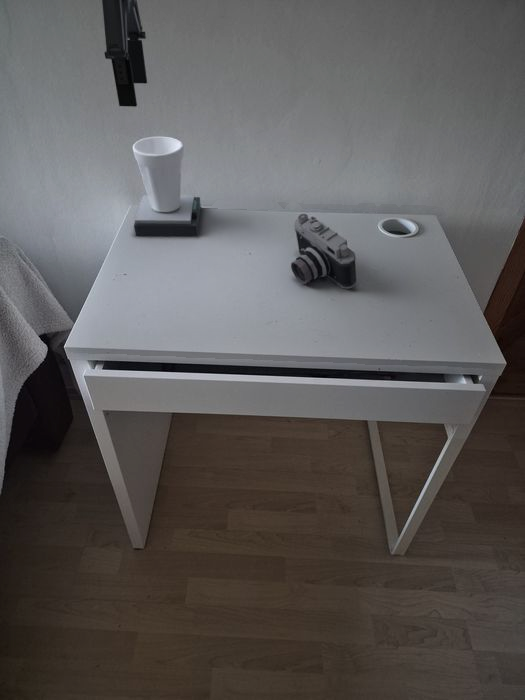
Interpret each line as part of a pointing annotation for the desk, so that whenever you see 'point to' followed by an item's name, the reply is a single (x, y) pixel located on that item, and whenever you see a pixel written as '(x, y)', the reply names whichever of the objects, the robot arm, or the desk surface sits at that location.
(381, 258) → the desk surface
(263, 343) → the desk surface
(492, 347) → the desk surface
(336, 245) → the camera
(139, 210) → the scale
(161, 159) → the cup
